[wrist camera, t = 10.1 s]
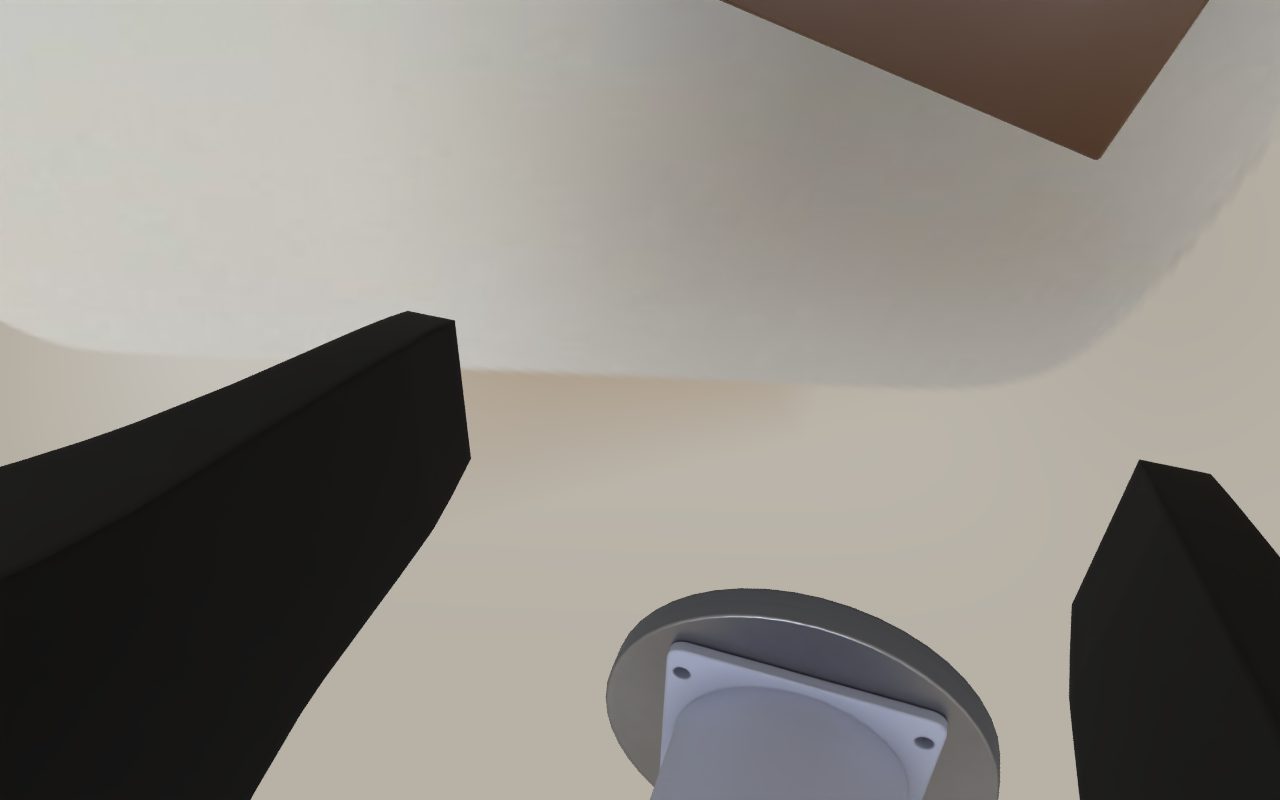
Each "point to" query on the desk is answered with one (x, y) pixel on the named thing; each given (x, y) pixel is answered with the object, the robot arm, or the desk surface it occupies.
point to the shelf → (1008, 53)
